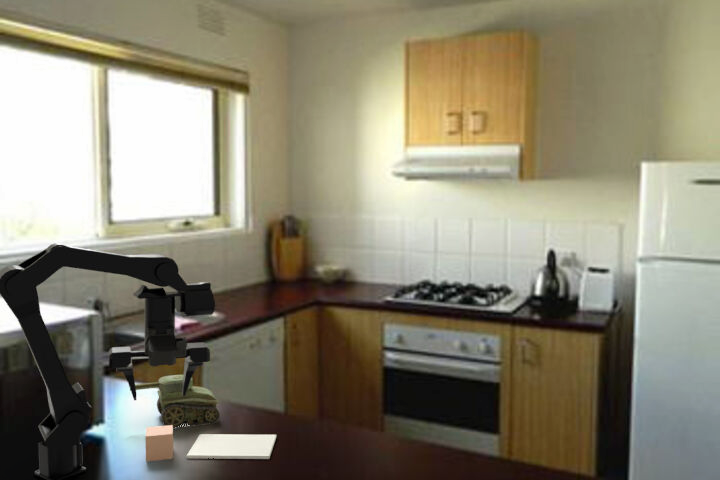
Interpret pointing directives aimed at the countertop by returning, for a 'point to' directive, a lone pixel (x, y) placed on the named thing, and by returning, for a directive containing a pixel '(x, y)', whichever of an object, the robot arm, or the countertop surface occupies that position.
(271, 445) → the board
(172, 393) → the toy
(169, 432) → the block
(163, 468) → the countertop surface
